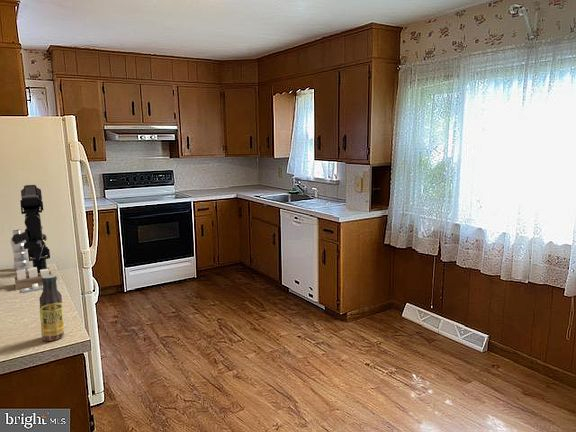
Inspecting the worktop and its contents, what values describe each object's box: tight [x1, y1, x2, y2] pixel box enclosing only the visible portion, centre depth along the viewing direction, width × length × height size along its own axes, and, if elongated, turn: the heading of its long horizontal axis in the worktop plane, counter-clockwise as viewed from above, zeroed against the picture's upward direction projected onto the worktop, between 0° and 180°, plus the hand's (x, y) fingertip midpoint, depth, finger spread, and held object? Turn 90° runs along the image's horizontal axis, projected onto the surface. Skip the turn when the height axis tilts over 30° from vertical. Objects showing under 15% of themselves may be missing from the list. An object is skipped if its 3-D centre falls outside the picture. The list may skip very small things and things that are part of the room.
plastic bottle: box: [10, 229, 30, 271], centre depth 213 cm, size 6×7×20 cm
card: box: [20, 283, 43, 294], centre depth 183 cm, size 4×10×2 cm, turn 123°
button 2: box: [40, 268, 50, 276], centre depth 192 cm, size 3×3×5 cm
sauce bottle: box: [39, 274, 65, 342], centre depth 133 cm, size 6×6×20 cm
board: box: [14, 270, 53, 291], centre depth 190 cm, size 10×14×4 cm
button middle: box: [27, 266, 38, 278], centre depth 189 cm, size 3×3×5 cm
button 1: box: [15, 269, 27, 280], centre depth 187 cm, size 3×3×5 cm
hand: (37, 260), depth 190 cm, fingers closed
